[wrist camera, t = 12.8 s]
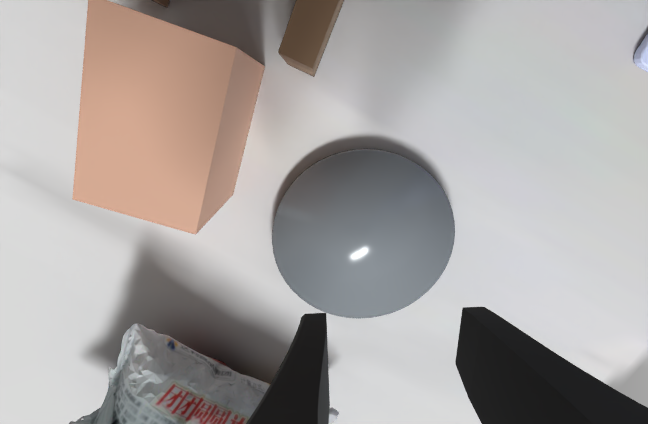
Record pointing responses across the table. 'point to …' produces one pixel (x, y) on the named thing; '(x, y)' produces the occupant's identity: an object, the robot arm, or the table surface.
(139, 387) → the packaged food
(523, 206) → the table surface
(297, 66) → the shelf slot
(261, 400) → the robot arm
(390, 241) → the coaster
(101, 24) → the block
